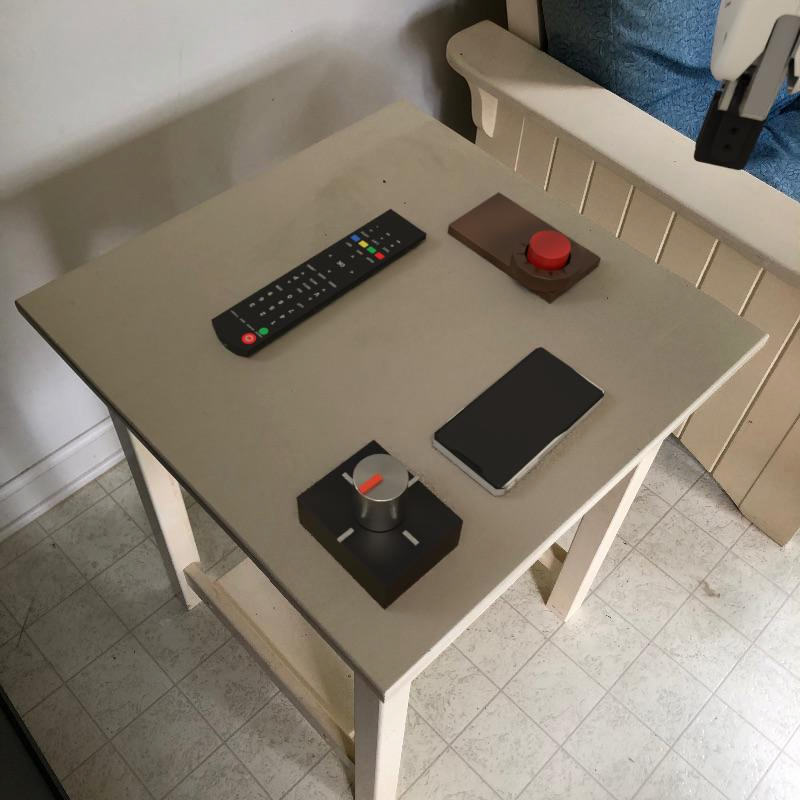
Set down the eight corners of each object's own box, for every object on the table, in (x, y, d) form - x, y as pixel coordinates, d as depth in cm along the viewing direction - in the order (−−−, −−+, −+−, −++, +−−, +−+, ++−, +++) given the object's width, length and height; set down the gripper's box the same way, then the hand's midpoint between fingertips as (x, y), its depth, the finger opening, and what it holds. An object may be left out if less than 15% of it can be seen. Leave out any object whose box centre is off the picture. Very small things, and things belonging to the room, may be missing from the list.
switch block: (602, 268, 85) (609, 246, 83) (547, 311, 81) (553, 289, 79) (497, 200, 91) (500, 178, 89) (441, 237, 87) (443, 215, 85)
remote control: (425, 243, 86) (426, 233, 85) (243, 364, 75) (242, 354, 74) (390, 218, 88) (390, 208, 87) (208, 332, 78) (206, 322, 77)
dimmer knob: (381, 476, 64) (382, 441, 60) (416, 510, 62) (420, 476, 59) (342, 506, 62) (341, 472, 58) (377, 542, 61) (379, 509, 57)
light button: (575, 258, 82) (579, 245, 81) (550, 277, 80) (553, 264, 79) (544, 238, 84) (547, 224, 82) (518, 256, 82) (521, 243, 81)
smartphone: (609, 393, 74) (501, 493, 67) (605, 401, 75) (499, 501, 68) (538, 344, 77) (429, 434, 70) (536, 352, 78) (427, 442, 71)
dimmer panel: (459, 544, 65) (464, 518, 62) (383, 611, 62) (384, 587, 58) (373, 465, 69) (374, 437, 66) (298, 523, 66) (294, 496, 63)
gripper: (778, -237, 43) (671, 84, 57) (768, -129, 34) (644, 218, 49) (930, -216, 42) (781, 107, 56) (960, -98, 33) (774, 248, 47)
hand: (718, 158), depth 52 cm, fingers closed
